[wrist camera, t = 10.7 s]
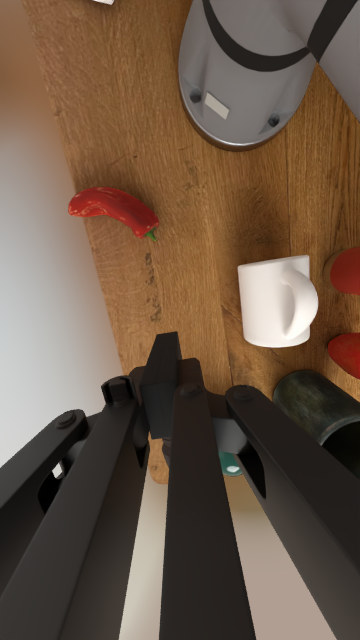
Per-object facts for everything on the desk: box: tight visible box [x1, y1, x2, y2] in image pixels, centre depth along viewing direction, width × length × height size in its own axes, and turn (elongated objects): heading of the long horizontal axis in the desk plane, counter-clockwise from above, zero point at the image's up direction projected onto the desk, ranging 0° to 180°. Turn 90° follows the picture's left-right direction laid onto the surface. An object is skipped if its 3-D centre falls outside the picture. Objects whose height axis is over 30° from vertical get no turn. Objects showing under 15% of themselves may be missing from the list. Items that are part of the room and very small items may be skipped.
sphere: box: [218, 451, 243, 476], centre depth 33 cm, size 8×8×8 cm
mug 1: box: [238, 255, 318, 347], centre depth 25 cm, size 8×10×12 cm
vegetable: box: [68, 187, 159, 241], centre depth 26 cm, size 4×5×12 cm
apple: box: [327, 333, 360, 379], centre depth 29 cm, size 6×6×8 cm
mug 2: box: [273, 370, 360, 480], centre depth 30 cm, size 11×15×12 cm
